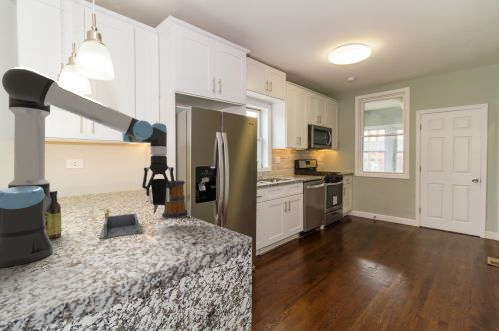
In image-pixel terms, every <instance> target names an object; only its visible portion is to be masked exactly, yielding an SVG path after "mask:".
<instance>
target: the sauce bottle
mask: <svg viewBox="0 0 499 331" xmlns="http://www.w3.org/2000/svg"><path fill="white" fill-rule="evenodd" d="M50 196H51V205H50V207H49V209H48V210H47V211H46V212H45V231H46V233H47V235H48V237H49V238H50V239H56V238H59V237H61V235H62V232H63V230H62V210H61V208H62V206H61V204H60V203H59V201H58V190H55V189H53V190H50Z"/></svg>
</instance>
